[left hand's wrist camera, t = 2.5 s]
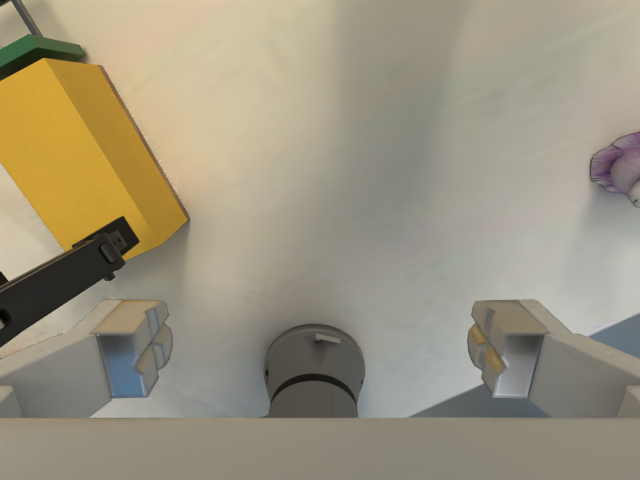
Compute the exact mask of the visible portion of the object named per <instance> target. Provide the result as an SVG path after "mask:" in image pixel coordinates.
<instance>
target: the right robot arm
mask: <svg viewBox="0 0 640 480" xmlns="http://www.w3.org/2000/svg"><path fill="white" fill-rule="evenodd" d="M139 242H140V241H139V239H138V238H137V236H136V234H135V233H134V231H133V230H132V228H131V227H130V225H129V224H128V222H127V221H126V219H125V217H124V216H121V217H119V218H117V219H115V220H114V221H112V222H110V223H108V224H107V225H105V226H103V227H102V228H100V229H98V230H97V231H95V232H93V233H92V234H90V235H88V236H87V237H85V238H83V239H82V240H80V241H78V242H77V243H75V244H73V245H71V246H72V249H70V250H68V251H66V252H64V253H62V254H61V255H59V256H57V257H55V258H53V259H51V260H49V261H47V262H45V263H43V264H41V265H40V266H38V267H36V268H34V269H32V270H30V271H28V272H26V273H24V274H22V275H20V276H19V277H17V278H15V279H13V280H11V281H8V280H7V279H6V277H5V276H4V275H3V274H2V272H1V271H0V348H1V347H2V346H3V345H5V344H6V343H7V342H9V341H10V340H11V339H13V338H14V337H15V336H17V335H18V334H19V333H21V332H22V331H24V330H25V329H27V328H28V327H30V326H31V325H33V324H34V323H36V322H37V321H39V320H40V319H42V318H43V317H45V316H47V315H48V314H50V313H51V312H53V311H54V310H56V309H57V308H59V307H60V306H62V305H63V304H65V303H66V302H68V301H69V300H71V299H72V298H74V297H75V296H77V295H78V294H80V293H82V292H83V291H85V290H86V289H88V288H89V287H91V286H92V285H94V284H95V283H97V282H98V281H100V280H101V279H103V278H104V280H105V281H111V280H112V279H114V278H115V277H116V276H115V275H114V273H113V272H114V271H116V270H119V269H120V268H122V266H123V265H125V263H126V262H125V260H124V259H123V257H122V256H123V255H124V254H126V253H127V252H128V251H129V250H131V249H132V248H133V247H134V246H136V245H137V244H138V243H139ZM364 376H365V368H364V361H363V356H362V353H361V351H360V349H359V347H358V345H357V344H356V343H355V341H354V340H353V339H352V338H351V337H349V336H348V335H347V334H345V333H344V332H342V331H340V330H338V329H336V328H333V327H330V326H326V325H318V324H310V325H303V326H298V327H295V328H292V329H290V330H288V331H286V332H285V333H283V334H282V335H280V336H279V337H278V338H277V339H276V340H275V341H274V342H273V343H272V345H271V346H270V348H269V350H268V352H267V355H266V359H265V364H264V379H265V383H266V387H267V391H268V395H269V399H270V402H271V404H270V410H269V415H267V416H264V417H260V418H358V412H357V401H358V395H359V392H360V390H361V388H362V385H363V381H364Z"/></svg>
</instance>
